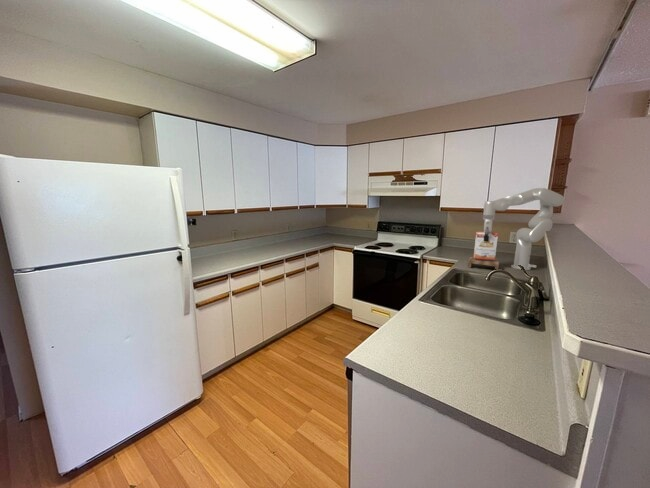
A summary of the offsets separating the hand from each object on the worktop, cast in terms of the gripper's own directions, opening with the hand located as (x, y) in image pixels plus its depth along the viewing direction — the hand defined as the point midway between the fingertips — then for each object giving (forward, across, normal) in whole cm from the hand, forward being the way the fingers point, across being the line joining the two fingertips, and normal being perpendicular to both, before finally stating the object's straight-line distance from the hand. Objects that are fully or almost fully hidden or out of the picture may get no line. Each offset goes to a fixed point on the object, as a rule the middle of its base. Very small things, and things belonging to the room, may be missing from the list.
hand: (486, 240), depth 205 cm
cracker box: (+15, 0, 0) cm, 15 cm away
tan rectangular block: (+22, 0, 0) cm, 22 cm away
